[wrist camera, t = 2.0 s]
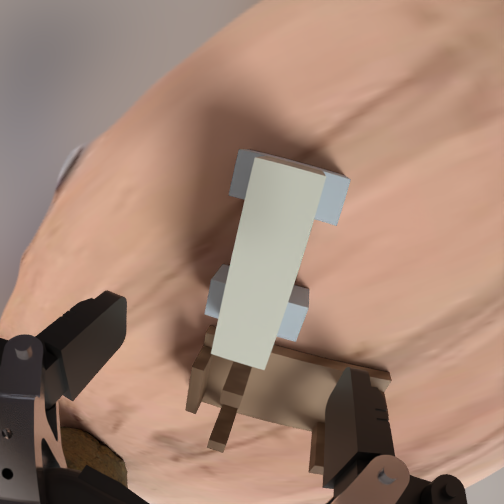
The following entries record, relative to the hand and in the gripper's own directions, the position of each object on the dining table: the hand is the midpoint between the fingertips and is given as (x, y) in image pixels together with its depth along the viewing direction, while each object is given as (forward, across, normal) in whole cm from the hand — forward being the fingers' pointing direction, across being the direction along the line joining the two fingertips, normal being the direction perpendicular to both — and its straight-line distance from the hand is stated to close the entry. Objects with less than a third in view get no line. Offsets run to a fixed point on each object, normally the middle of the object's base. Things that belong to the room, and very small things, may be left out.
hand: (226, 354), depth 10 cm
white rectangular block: (+11, 0, 0) cm, 11 cm away
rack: (+14, -5, +14) cm, 20 cm away
